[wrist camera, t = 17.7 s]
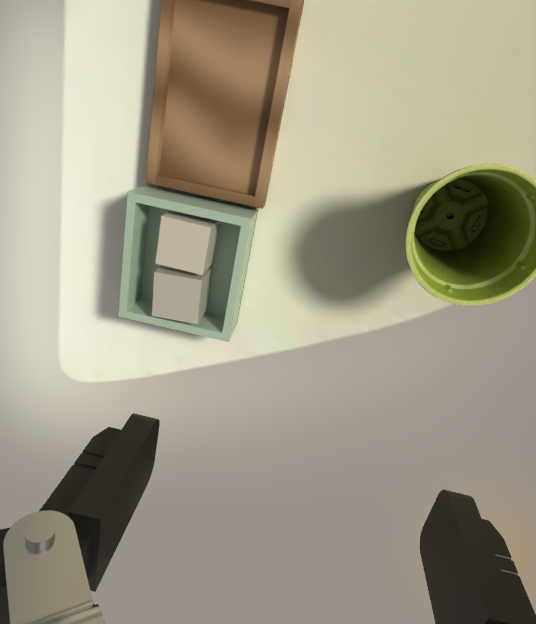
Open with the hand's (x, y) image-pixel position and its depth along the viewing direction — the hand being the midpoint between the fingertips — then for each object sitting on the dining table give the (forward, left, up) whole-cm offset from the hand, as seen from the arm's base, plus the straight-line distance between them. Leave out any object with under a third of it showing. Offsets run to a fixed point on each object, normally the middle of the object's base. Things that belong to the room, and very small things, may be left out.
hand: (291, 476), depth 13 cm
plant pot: (-4, +10, -30) cm, 32 cm away
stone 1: (+2, -10, -29) cm, 31 cm away
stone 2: (+7, -10, -29) cm, 32 cm away
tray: (-9, -10, -30) cm, 33 cm away
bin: (+4, -10, -30) cm, 32 cm away
